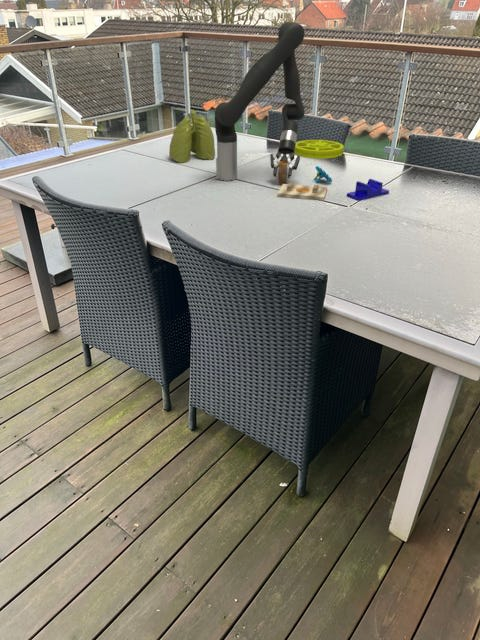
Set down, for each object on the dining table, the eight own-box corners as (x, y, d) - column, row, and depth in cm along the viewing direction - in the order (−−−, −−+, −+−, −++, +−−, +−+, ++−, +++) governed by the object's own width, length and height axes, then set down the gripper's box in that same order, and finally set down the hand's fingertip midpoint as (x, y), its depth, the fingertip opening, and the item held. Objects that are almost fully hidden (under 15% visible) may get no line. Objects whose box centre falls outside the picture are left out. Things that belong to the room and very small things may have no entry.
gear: (336, 181, 224) (322, 166, 220) (327, 191, 225) (312, 176, 221) (327, 177, 234) (313, 163, 230) (318, 187, 235) (305, 173, 231)
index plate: (277, 196, 210) (277, 188, 209) (282, 187, 222) (283, 179, 220) (323, 200, 206) (324, 192, 204) (327, 190, 218) (327, 182, 216)
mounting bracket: (376, 190, 219) (378, 177, 216) (388, 194, 214) (390, 181, 211) (346, 197, 211) (348, 183, 208) (358, 201, 206) (360, 187, 203)
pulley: (350, 151, 281) (351, 142, 278) (330, 161, 261) (331, 152, 258) (306, 145, 293) (307, 136, 290) (284, 154, 273) (285, 145, 271)
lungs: (208, 153, 275) (207, 106, 263) (219, 159, 264) (218, 111, 251) (165, 157, 267) (162, 110, 254) (174, 164, 255) (171, 115, 242)
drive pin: (276, 185, 224) (277, 163, 219) (278, 182, 227) (279, 161, 222) (285, 186, 223) (286, 163, 218) (287, 183, 227) (288, 161, 221)
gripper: (271, 137, 223) (265, 171, 220) (302, 139, 220) (297, 173, 217) (273, 147, 230) (267, 179, 227) (303, 148, 227) (298, 181, 224)
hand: (281, 176), depth 222 cm, fingers open, 5 cm apart
